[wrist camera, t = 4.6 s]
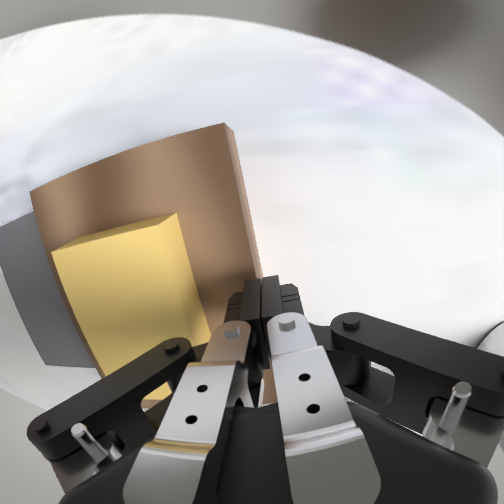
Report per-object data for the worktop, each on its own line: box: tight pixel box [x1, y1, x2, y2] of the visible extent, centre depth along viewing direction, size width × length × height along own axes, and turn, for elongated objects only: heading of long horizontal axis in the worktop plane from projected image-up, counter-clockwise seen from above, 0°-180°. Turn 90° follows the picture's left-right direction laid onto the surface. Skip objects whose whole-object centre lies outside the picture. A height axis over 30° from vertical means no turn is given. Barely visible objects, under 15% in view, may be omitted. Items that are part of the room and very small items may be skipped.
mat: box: [0, 212, 96, 368], centre depth 19 cm, size 10×14×1 cm
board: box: [30, 123, 278, 408], centre depth 17 cm, size 12×16×4 cm
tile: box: [51, 213, 211, 400], centre depth 13 cm, size 6×9×2 cm, turn 11°
